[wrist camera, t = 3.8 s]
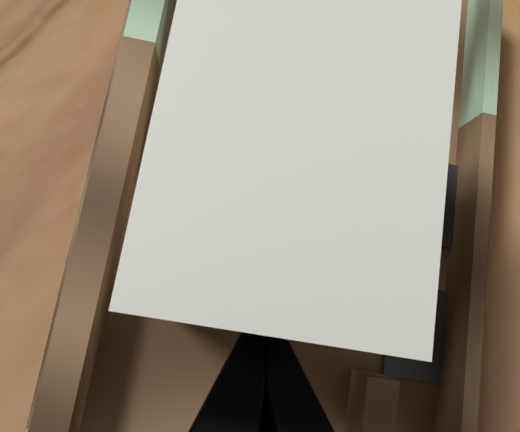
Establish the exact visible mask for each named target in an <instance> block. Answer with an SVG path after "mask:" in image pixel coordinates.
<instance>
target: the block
mask: <svg viewBox="0 0 520 432" xmlns="http://www.w3.org/2000/svg"><path fill="white" fill-rule="evenodd" d="M461 4H462V0H177V3H176V7H175V12H174V16H173V21H172V25H171V30H170V34H169V39H168V43H167V48H166V52H165V57H164V62H163V66H162V71H161V75H160V80H159V84H158V89H157V93H156V98H155V102H154V107H153V111H152V116H151V120H150V125H149V129H148V134H147V139H146V143H145V148H144V152H143V157H142V161H141V166H140V170H139V175H138V179H137V184H136V188H135V193H134V197H133V202H132V206H131V211H130V216H129V220H128V225H127V229H126V234H125V238H124V243H123V247H122V252H121V256H120V261H119V265H118V270H117V274H116V279H115V283H114V288H113V292H112V297H111V302H110V306H109V311H112V312H118V313H124V314H131V315H137V316H143V317H150V318H156V319H162V320H169V321H175V322H181V323H187V324H194V325H200V326H206V327H213V328H219V329H225V330H232V331H238V332H244V333H251V334H257V335H263V336H270V337H276V338H282V339H289V340H295V341H301V342H308V343H314V344H320V345H327V346H333V347H339V348H345V349H352V350H358V351H364V352H371V353H377V354H383V355H390V356H396V357H402V358H409V359H415V360H421V361H428V362H432V354H433V342H434V330H435V318H436V306H437V294H438V282H439V270H440V258H441V246H442V233H443V221H444V209H445V197H446V185H447V173H448V161H449V149H450V137H451V125H452V113H453V101H454V89H455V77H456V65H457V52H458V40H459V28H460V16H461Z"/></svg>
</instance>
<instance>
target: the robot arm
mask: <svg viewBox="0 0 520 432" xmlns="http://www.w3.org/2000/svg"><path fill="white" fill-rule="evenodd" d="M188 432H335V431H334V429H333V427H332V425H331V423H330V421H329V419H328V417H327V415H326V413H325V411H324V409H323V407H322V405H321V403H320V401H319V399H318V397H317V395H316V393H315V391H314V389H313V387H312V385H311V383H310V381H309V379H308V377H307V375H306V373H305V372H304V370H303V368H302V366H301V364H300V362H299V360H298V358H297V356H296V354H295V352H294V350H293V348H292V346H291V344H290V342H289V340H288V339H282V338H276V337H270V336H263V335H257V334H251V333H244V332H240V334H239V336H238V338H237V340H236V342H235V344H234V346H233V348H232V349H231V351H230V353H229V355H228V357H227V359H226V361H225V363H224V365H223V367H222V368H221V370H220V372H219V374H218V376H217V378H216V380H215V382H214V384H213V385H212V387H211V389H210V391H209V393H208V395H207V397H206V399H205V401H204V403H203V404H202V406H201V408H200V410H199V412H198V414H197V416H196V418H195V420H194V422H193V423H192V425H191V427H190V429H189V431H188Z"/></svg>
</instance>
